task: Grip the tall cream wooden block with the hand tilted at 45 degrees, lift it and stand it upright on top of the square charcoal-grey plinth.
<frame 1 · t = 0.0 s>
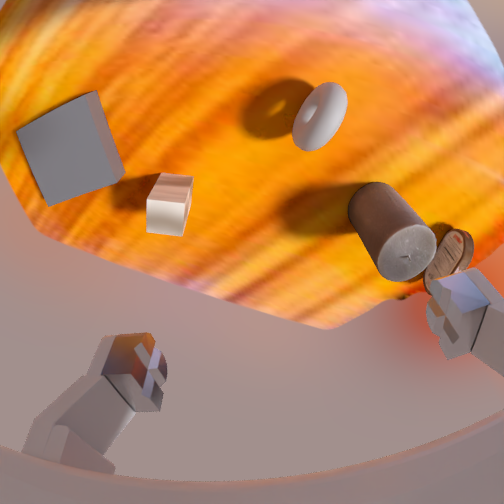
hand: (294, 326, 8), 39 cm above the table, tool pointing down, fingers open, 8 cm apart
tin: (437, 250, 57), on the table
cream block: (176, 189, 47), on the table
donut: (310, 108, 41), on the table
grey plinth: (74, 146, 42), on the table
pillar candle: (374, 206, 51), on the table
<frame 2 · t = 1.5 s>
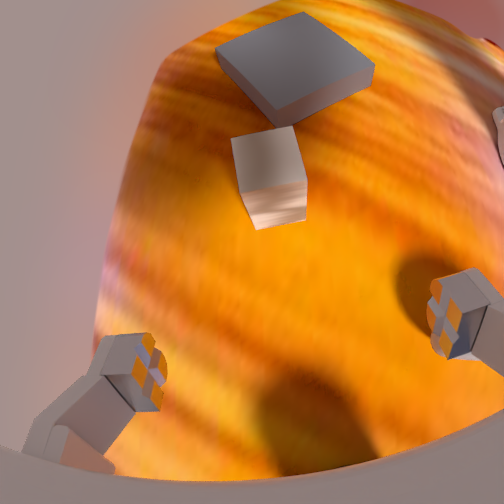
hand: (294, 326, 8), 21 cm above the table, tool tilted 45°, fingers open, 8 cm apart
cream block: (276, 202, 32), on the table
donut: (456, 337, 26), on the table
grey plinth: (294, 73, 36), on the table
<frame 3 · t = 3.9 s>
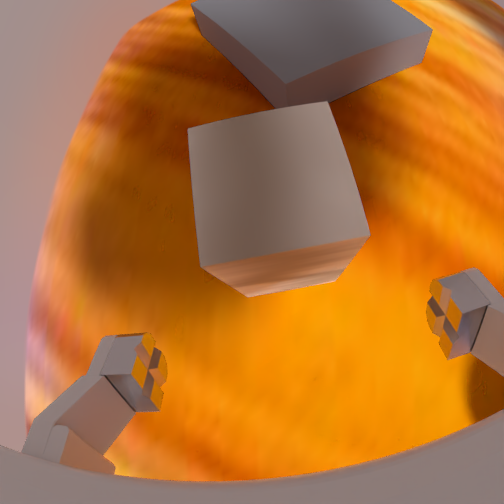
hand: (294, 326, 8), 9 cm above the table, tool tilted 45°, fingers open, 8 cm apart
cream block: (283, 246, 18), on the table
grey plinth: (309, 39, 22), on the table
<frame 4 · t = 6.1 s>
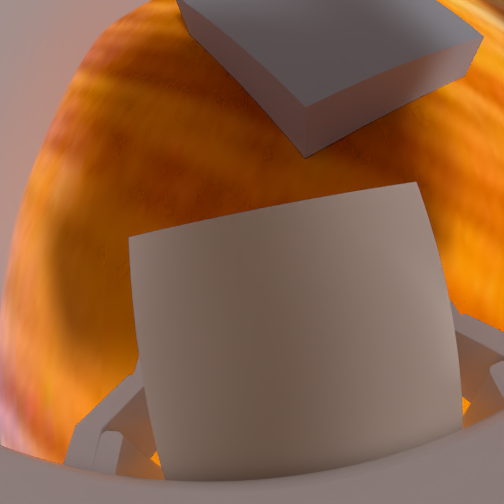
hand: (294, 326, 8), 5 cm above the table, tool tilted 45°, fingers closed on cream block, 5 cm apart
cream block: (297, 341, 13), on the table, touching gripper
grey plinth: (326, 40, 17), on the table
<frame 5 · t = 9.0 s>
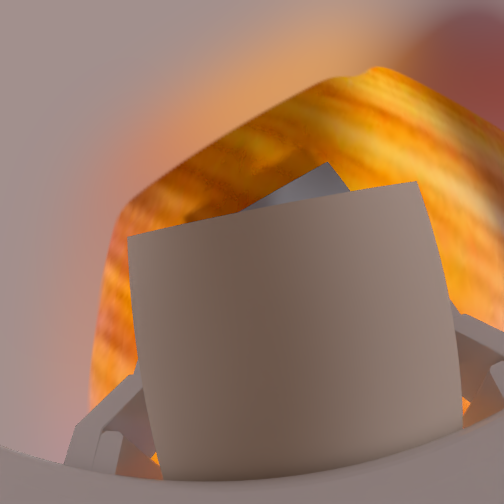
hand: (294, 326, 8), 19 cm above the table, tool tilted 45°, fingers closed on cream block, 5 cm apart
cream block: (297, 341, 13), point 14 cm above the table, touching gripper
grey plinth: (302, 281, 28), on the table
when the fingers open (10 cm above the table, at t = 11.9 s): cream block drops 1 cm, resting on grey plinth.
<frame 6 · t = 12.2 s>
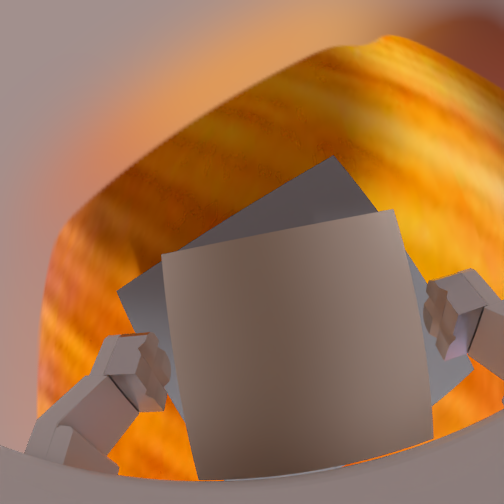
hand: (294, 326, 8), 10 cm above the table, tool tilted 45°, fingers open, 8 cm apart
cream block: (297, 339, 14), point 4 cm above the table, touching grey plinth
grey plinth: (296, 338, 18), on the table
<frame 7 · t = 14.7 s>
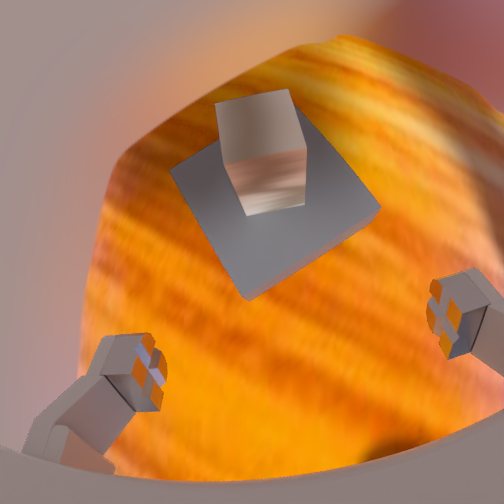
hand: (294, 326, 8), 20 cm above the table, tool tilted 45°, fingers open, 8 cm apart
cream block: (270, 184, 27), point 4 cm above the table, touching grey plinth
grey plinth: (273, 202, 31), on the table
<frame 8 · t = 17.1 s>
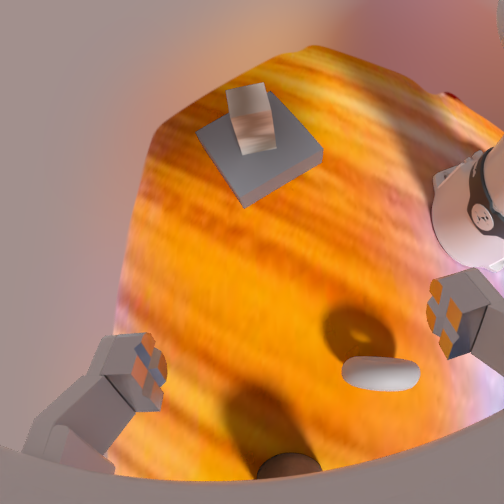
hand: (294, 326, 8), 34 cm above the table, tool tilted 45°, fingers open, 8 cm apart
cream block: (256, 138, 45), point 4 cm above the table, touching grey plinth
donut: (371, 367, 39), on the table
grey plinth: (259, 152, 48), on the table
pillar candle: (291, 479, 36), on the table
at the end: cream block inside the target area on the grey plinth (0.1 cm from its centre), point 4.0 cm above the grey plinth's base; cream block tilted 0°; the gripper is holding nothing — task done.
